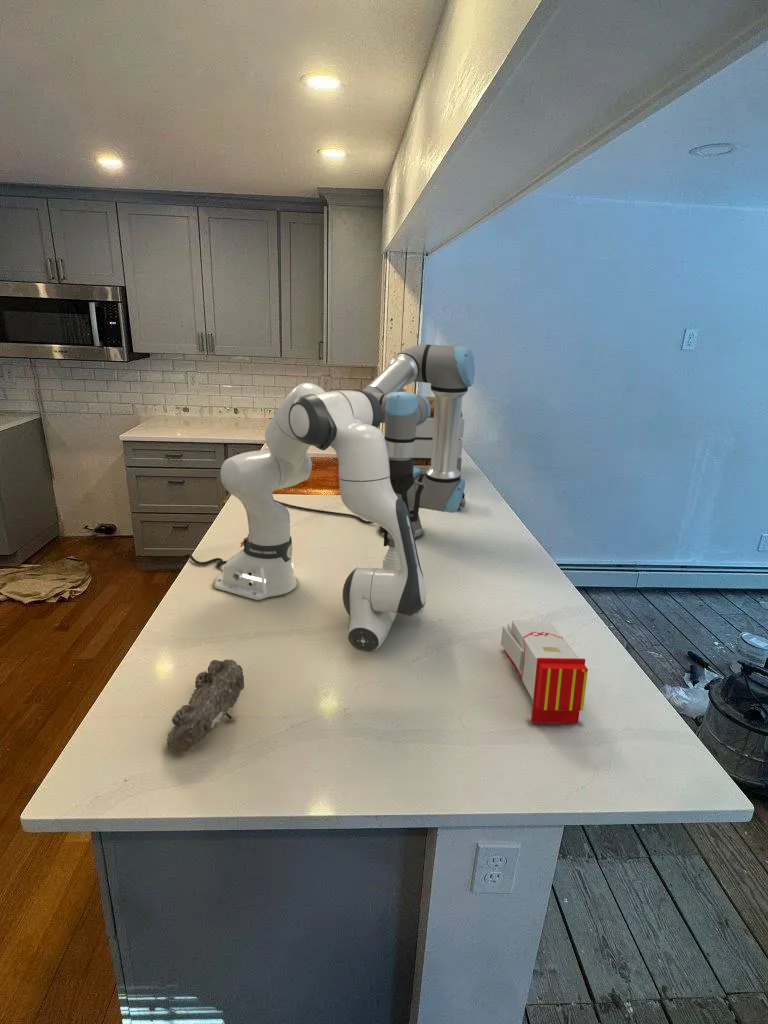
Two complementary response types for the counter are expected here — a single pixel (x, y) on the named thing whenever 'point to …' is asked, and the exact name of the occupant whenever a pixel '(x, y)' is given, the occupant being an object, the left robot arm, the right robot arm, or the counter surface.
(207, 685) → the fossil
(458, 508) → the figurine character
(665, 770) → the counter surface
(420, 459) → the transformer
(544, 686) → the toy
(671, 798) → the counter surface
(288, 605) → the counter surface
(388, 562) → the bottle
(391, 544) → the cap
